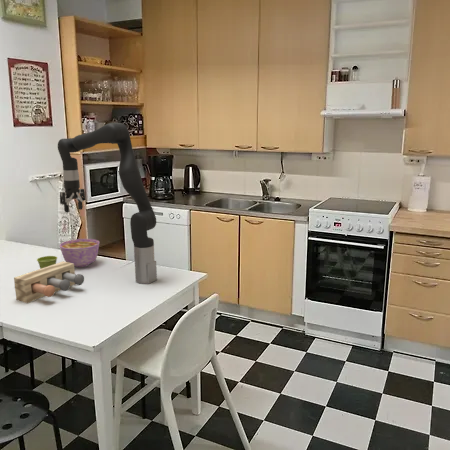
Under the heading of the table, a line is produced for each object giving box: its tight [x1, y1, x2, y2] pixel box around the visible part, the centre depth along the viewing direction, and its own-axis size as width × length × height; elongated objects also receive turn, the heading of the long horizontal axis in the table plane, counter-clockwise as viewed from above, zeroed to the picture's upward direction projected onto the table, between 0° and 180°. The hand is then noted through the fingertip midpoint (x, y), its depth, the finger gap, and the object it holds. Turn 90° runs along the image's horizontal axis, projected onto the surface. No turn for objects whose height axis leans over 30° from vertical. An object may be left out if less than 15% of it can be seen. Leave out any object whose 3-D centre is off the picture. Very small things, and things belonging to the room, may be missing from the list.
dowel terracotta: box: [31, 283, 56, 298], centre depth 194 cm, size 11×5×5 cm, turn 60°
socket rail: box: [13, 260, 76, 304], centre depth 204 cm, size 7×26×10 cm, turn 150°
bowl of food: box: [59, 238, 100, 268], centre depth 241 cm, size 20×20×12 cm
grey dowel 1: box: [47, 277, 71, 292], centre depth 201 cm, size 11×5×5 cm, turn 60°
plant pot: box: [36, 255, 58, 269], centre depth 226 cm, size 9×9×9 cm
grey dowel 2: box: [62, 272, 85, 286], centre depth 207 cm, size 11×5×5 cm, turn 60°
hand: (73, 210), depth 234 cm, fingers open, 8 cm apart
